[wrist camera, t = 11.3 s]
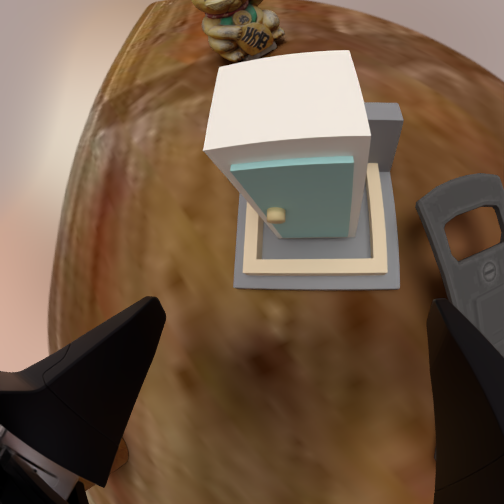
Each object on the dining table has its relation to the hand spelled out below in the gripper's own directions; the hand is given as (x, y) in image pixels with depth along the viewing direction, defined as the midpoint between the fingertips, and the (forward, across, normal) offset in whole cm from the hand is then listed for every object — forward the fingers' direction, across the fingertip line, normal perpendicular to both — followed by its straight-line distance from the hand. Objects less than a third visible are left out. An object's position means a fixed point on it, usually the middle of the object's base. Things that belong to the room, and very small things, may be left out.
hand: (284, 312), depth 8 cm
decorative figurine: (+33, +7, -14) cm, 36 cm away
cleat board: (+15, 0, +4) cm, 15 cm away
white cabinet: (+15, 0, +3) cm, 15 cm away
